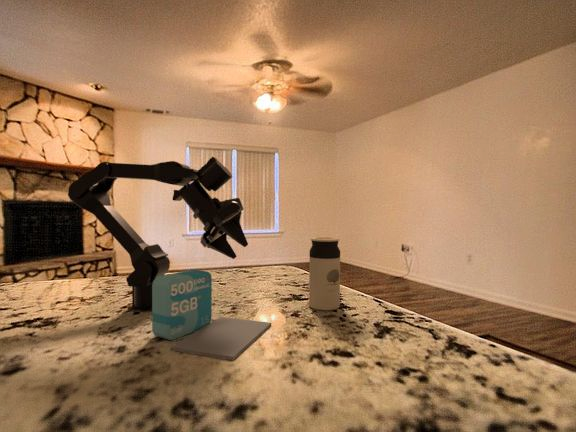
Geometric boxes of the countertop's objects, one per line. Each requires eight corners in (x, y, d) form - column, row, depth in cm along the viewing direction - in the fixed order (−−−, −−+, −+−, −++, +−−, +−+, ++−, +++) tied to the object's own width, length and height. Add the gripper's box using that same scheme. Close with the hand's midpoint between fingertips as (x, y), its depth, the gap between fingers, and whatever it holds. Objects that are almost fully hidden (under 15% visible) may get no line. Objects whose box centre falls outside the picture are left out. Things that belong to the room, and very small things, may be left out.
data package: (167, 343, 64) (167, 280, 64) (151, 338, 67) (151, 277, 66) (212, 324, 74) (212, 270, 74) (197, 321, 77) (197, 268, 77)
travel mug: (304, 303, 91) (305, 237, 91) (331, 301, 94) (332, 236, 93) (316, 312, 84) (316, 239, 83) (345, 309, 86) (345, 239, 86)
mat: (170, 350, 61) (170, 346, 61) (220, 319, 78) (220, 316, 78) (233, 360, 57) (233, 356, 57) (271, 325, 74) (271, 322, 74)
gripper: (236, 171, 82) (277, 221, 81) (217, 204, 97) (251, 247, 96) (199, 191, 75) (243, 246, 74) (184, 224, 90) (221, 269, 89)
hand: (240, 252), depth 84 cm, fingers open, 9 cm apart
